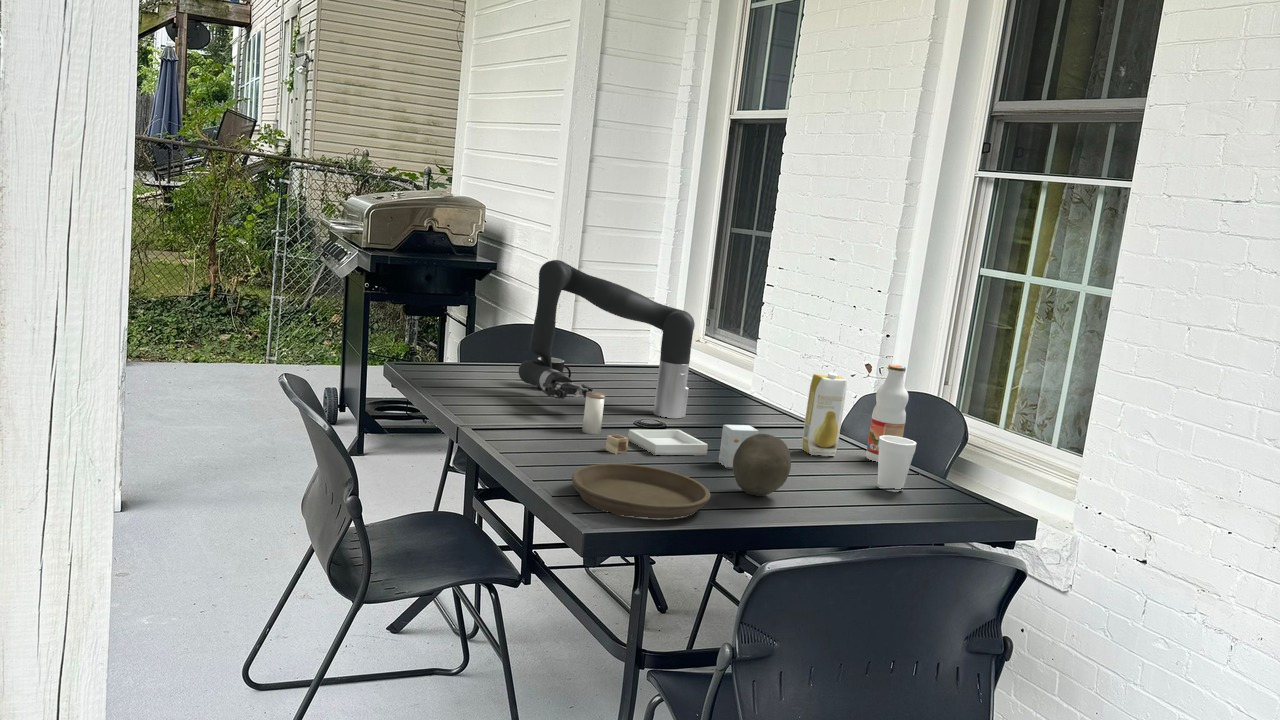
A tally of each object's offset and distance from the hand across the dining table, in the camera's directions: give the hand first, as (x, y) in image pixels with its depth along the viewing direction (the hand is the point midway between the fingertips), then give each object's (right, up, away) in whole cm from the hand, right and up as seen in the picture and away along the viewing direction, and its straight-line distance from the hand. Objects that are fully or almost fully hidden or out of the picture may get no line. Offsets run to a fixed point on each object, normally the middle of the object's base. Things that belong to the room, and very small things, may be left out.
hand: (577, 395), depth 295 cm
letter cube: (+12, -14, -27) cm, 32 cm away
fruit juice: (+88, -19, 0) cm, 90 cm away
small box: (+43, -18, -26) cm, 54 cm away
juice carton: (+70, -17, -1) cm, 72 cm away
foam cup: (+83, -23, -31) cm, 92 cm away
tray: (+26, -14, -16) cm, 33 cm away
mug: (-11, 0, +44) cm, 46 cm away
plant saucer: (+18, -22, -68) cm, 74 cm away
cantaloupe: (+46, -22, -53) cm, 74 cm away
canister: (+5, -10, -8) cm, 14 cm away
